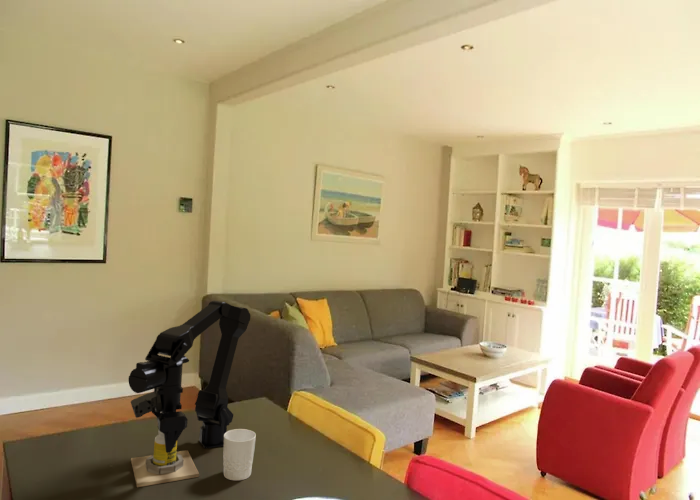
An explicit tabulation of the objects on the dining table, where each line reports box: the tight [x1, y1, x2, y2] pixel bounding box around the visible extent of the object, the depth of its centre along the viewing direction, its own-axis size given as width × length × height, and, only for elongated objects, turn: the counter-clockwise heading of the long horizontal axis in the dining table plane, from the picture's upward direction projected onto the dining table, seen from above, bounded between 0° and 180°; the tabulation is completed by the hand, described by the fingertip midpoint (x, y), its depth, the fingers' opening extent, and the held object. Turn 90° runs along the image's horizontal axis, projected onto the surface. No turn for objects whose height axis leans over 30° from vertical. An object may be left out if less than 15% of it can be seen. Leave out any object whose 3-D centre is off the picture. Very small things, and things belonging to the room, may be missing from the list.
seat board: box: [130, 449, 200, 488], centre depth 124 cm, size 14×14×2 cm
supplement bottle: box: [152, 429, 178, 466], centre depth 124 cm, size 5×5×10 cm
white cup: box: [222, 428, 257, 481], centre depth 124 cm, size 8×8×10 cm
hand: (165, 444), depth 123 cm, fingers open, 9 cm apart
